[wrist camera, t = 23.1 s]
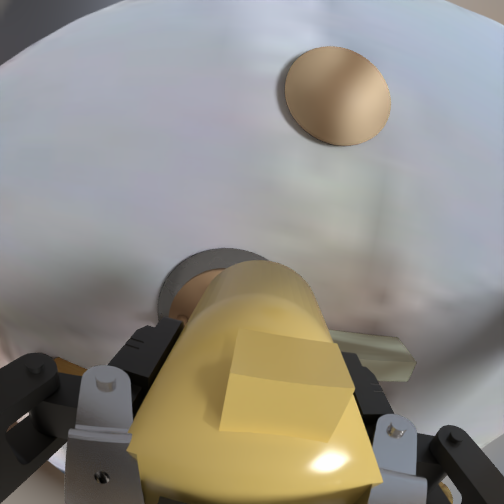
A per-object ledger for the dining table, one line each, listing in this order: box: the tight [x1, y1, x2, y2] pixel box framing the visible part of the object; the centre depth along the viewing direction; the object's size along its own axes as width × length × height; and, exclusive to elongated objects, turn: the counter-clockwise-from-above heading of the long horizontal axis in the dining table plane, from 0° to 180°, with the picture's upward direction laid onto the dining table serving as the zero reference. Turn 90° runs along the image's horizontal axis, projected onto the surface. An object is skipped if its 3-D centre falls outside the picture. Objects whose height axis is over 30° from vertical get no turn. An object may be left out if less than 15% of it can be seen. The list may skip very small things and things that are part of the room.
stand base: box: [158, 248, 269, 322], centre depth 25 cm, size 13×13×1 cm
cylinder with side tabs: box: [126, 260, 383, 504], centre depth 9 cm, size 11×6×10 cm, turn 170°
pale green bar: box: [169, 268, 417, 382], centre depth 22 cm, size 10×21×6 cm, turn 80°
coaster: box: [285, 46, 391, 146], centre depth 21 cm, size 9×9×1 cm
